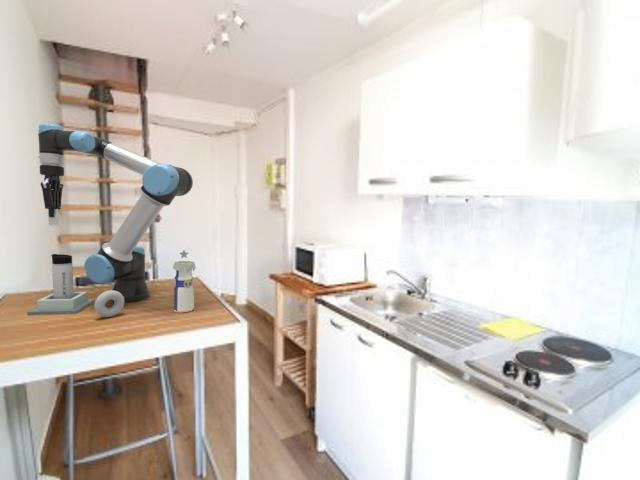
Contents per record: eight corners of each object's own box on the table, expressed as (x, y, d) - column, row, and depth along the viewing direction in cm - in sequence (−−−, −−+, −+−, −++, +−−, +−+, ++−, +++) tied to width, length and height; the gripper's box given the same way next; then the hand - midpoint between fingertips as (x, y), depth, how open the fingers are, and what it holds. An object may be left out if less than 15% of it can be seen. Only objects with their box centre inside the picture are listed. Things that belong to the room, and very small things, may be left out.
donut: (96, 321, 121) (96, 293, 120) (92, 319, 123) (92, 292, 122) (126, 314, 129) (126, 288, 128) (122, 312, 131) (121, 287, 130)
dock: (95, 301, 143) (95, 290, 143) (76, 313, 128) (76, 301, 127) (51, 302, 140) (51, 291, 139) (27, 314, 124) (26, 302, 124)
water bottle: (199, 310, 137) (200, 248, 135) (179, 314, 131) (178, 250, 128) (190, 305, 143) (190, 246, 140) (169, 309, 137) (169, 247, 134)
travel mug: (59, 302, 137) (57, 253, 135) (77, 302, 137) (75, 253, 135) (48, 307, 130) (46, 255, 128) (67, 307, 131) (65, 255, 129)
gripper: (49, 166, 139) (50, 223, 141) (31, 162, 126) (33, 226, 129) (70, 167, 141) (71, 224, 143) (55, 164, 128) (56, 227, 131)
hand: (53, 225), depth 136 cm, fingers closed
